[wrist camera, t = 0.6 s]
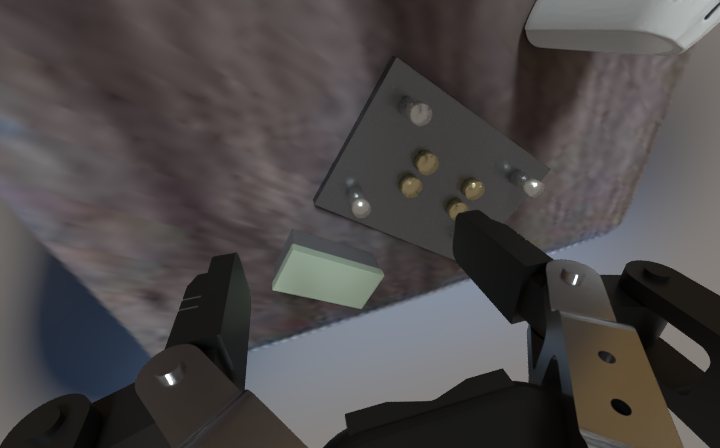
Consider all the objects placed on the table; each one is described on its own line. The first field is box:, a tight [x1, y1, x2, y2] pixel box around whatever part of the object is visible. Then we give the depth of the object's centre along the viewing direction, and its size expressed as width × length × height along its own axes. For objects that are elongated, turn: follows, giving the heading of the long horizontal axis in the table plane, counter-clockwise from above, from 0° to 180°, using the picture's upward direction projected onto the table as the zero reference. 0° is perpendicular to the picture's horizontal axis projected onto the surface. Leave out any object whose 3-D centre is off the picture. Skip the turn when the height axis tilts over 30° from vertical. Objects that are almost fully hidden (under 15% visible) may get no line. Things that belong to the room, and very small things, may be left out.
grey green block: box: [272, 229, 384, 309], centre depth 33 cm, size 5×10×4 cm, turn 61°
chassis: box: [313, 56, 550, 261], centre depth 30 cm, size 14×21×4 cm, turn 59°
